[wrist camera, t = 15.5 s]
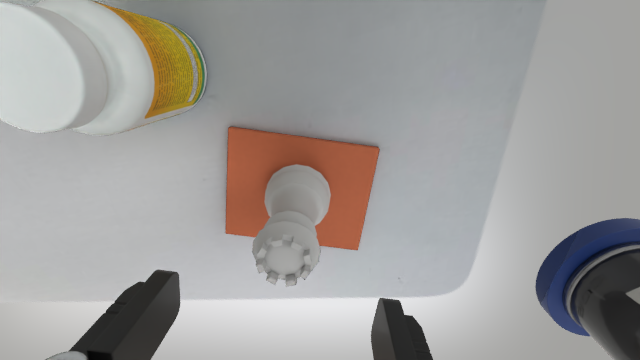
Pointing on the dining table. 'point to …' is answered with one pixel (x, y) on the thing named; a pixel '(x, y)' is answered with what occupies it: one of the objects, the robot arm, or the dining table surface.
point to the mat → (322, 155)
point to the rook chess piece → (291, 224)
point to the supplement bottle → (93, 68)
